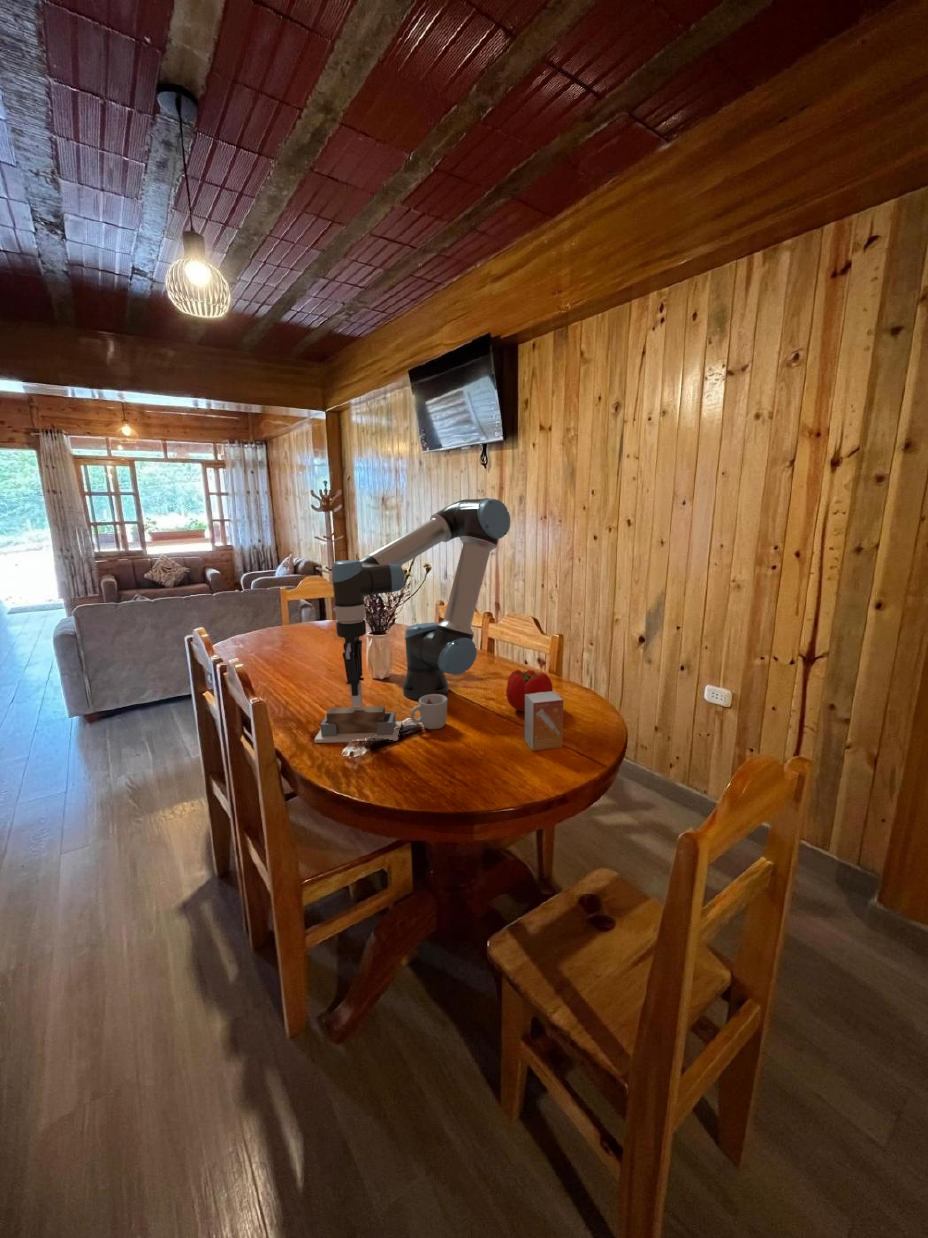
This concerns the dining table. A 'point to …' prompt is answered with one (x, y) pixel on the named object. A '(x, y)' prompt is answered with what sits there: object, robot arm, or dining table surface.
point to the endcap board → (383, 728)
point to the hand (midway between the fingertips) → (357, 705)
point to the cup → (431, 711)
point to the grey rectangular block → (356, 719)
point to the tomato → (525, 686)
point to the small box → (543, 720)
